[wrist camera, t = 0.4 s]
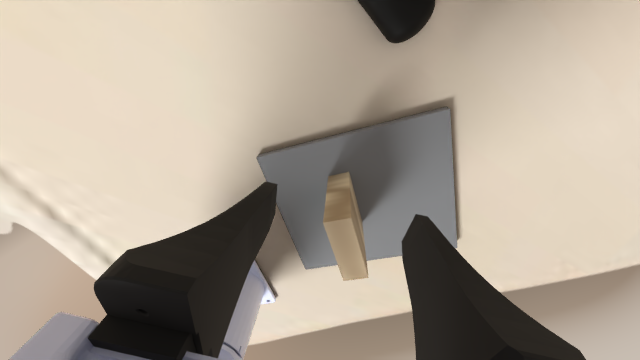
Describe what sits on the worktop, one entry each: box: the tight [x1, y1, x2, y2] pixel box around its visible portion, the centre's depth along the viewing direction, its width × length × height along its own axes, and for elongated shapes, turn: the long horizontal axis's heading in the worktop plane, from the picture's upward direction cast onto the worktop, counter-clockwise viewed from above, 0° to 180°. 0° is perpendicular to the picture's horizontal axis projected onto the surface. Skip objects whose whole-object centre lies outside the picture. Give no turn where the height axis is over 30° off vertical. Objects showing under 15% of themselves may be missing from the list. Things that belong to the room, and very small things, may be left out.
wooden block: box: [323, 172, 368, 281], centre depth 21 cm, size 2×6×7 cm, turn 17°
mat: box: [257, 107, 457, 269], centre depth 25 cm, size 17×15×1 cm
